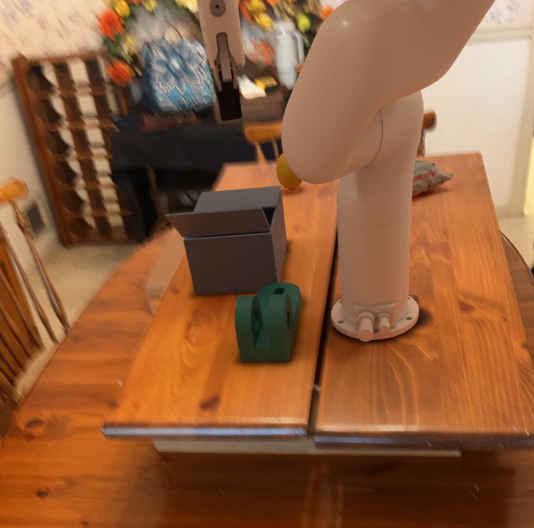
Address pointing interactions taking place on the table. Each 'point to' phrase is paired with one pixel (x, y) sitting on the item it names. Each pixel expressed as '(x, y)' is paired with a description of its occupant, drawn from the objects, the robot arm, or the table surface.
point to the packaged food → (427, 177)
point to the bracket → (267, 322)
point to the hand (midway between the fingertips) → (231, 118)
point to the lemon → (286, 174)
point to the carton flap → (219, 222)
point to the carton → (238, 245)
